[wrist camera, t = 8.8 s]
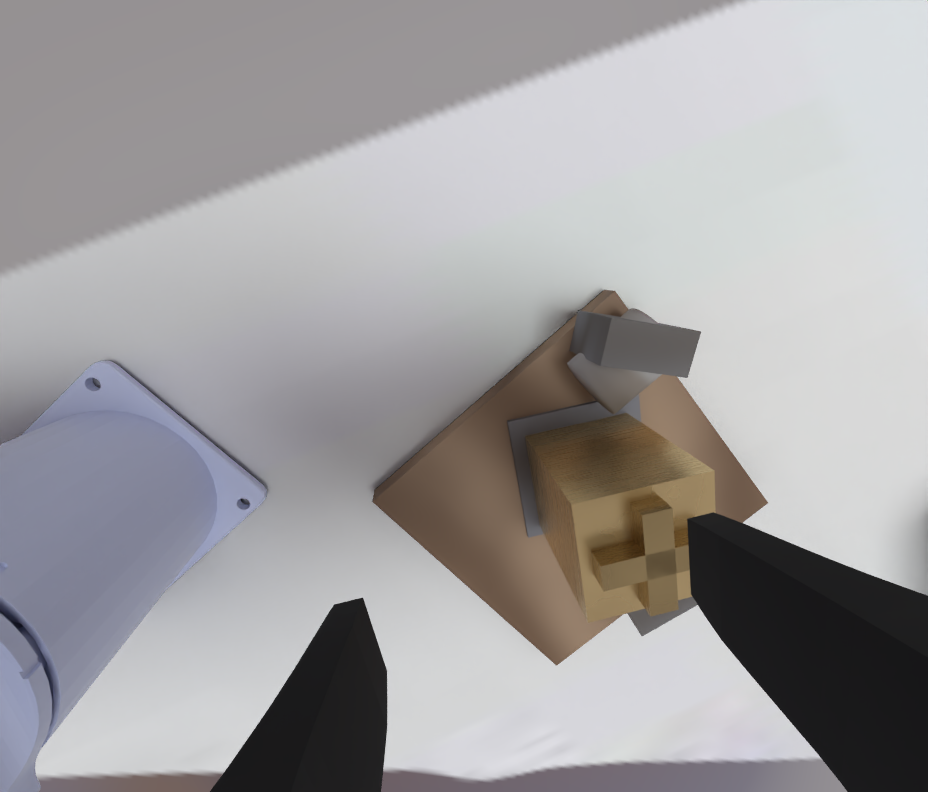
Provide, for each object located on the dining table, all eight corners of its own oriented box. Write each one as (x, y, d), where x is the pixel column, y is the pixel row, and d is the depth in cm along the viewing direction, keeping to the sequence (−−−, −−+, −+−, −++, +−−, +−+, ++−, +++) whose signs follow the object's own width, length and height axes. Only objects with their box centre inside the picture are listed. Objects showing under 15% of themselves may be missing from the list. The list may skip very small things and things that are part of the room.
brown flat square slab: (550, 649, 23) (578, 725, 19) (368, 484, 19) (356, 538, 15) (760, 486, 21) (836, 532, 17) (608, 274, 17) (662, 274, 14)
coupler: (634, 503, 19) (732, 606, 13) (539, 526, 19) (596, 641, 13) (626, 412, 18) (730, 481, 12) (524, 436, 18) (580, 517, 12)
